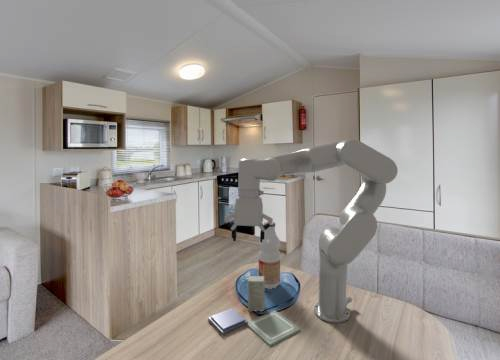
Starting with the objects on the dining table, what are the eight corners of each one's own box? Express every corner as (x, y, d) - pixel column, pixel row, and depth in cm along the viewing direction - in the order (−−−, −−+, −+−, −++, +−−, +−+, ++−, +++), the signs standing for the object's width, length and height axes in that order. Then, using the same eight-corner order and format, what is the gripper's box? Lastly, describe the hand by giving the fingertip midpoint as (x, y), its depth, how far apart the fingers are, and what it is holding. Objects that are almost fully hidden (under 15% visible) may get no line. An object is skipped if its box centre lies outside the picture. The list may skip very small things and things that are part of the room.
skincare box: (264, 306, 108) (265, 275, 107) (264, 313, 104) (264, 281, 102) (248, 305, 109) (248, 275, 107) (247, 312, 104) (247, 280, 103)
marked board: (274, 311, 104) (275, 310, 104) (300, 330, 94) (300, 328, 94) (245, 324, 97) (245, 322, 97) (270, 346, 86) (270, 344, 86)
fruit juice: (272, 292, 118) (273, 227, 115) (254, 285, 124) (254, 223, 121) (283, 283, 126) (284, 222, 123) (265, 277, 132) (266, 219, 128)
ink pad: (232, 311, 105) (232, 306, 105) (248, 324, 97) (248, 319, 96) (208, 320, 99) (208, 315, 99) (222, 335, 91) (222, 330, 91)
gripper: (273, 192, 103) (272, 238, 105) (226, 191, 104) (225, 236, 106) (273, 196, 95) (272, 245, 97) (222, 194, 97) (222, 243, 99)
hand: (248, 240), depth 102 cm, fingers open, 9 cm apart
